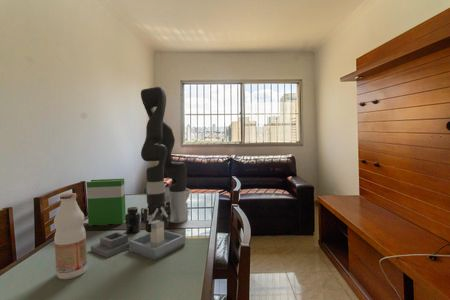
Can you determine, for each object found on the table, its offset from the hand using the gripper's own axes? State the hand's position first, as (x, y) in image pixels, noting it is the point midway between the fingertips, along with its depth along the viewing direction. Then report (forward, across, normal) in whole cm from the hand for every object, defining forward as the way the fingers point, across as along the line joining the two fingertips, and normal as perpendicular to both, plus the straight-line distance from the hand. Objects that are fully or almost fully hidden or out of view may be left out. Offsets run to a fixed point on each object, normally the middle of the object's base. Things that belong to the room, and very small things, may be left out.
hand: (157, 228), depth 108 cm
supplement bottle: (+8, -6, -25) cm, 27 cm away
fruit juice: (+8, +30, -10) cm, 33 cm away
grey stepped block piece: (+8, +10, -16) cm, 21 cm away
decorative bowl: (+8, -44, -38) cm, 59 cm away
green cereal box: (+8, -7, -49) cm, 50 cm away
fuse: (+7, 0, 0) cm, 7 cm away
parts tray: (+8, 0, 0) cm, 8 cm away
